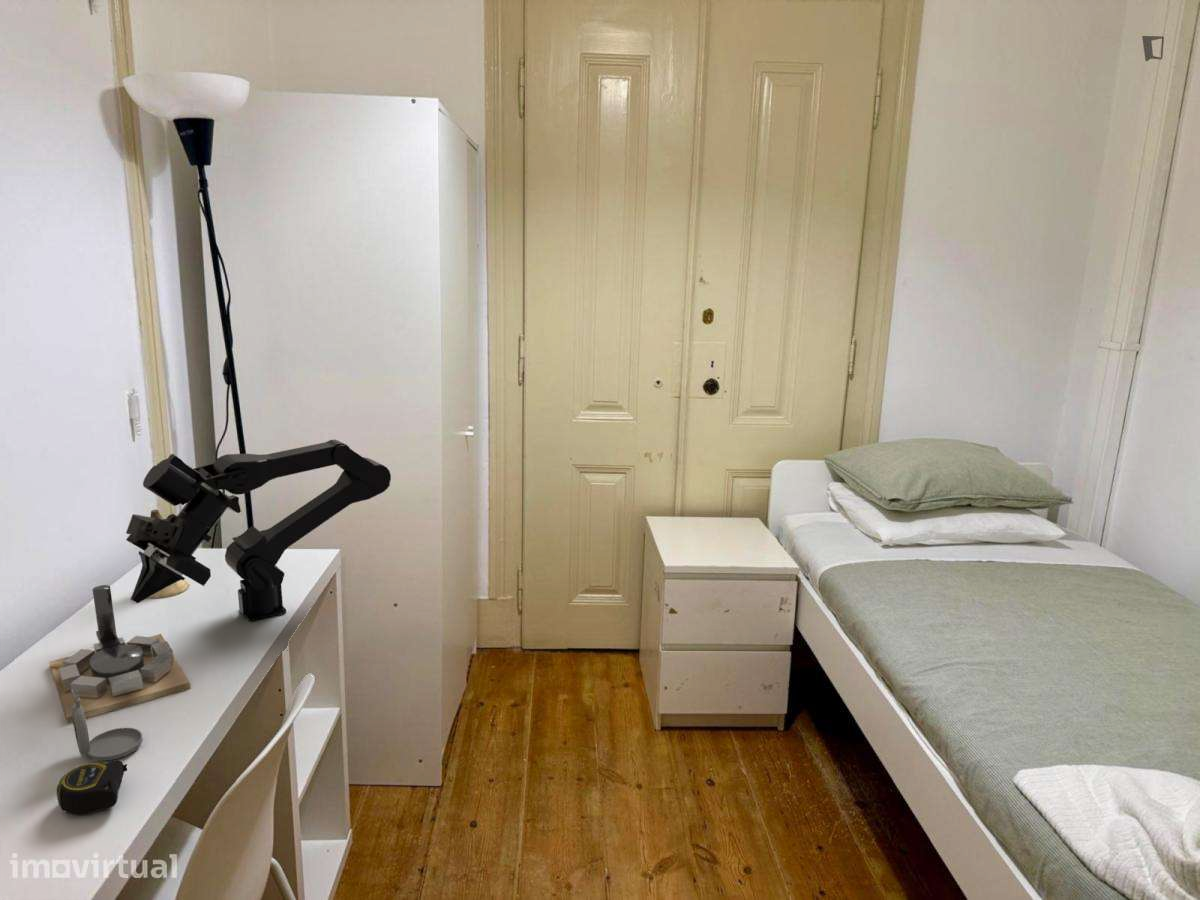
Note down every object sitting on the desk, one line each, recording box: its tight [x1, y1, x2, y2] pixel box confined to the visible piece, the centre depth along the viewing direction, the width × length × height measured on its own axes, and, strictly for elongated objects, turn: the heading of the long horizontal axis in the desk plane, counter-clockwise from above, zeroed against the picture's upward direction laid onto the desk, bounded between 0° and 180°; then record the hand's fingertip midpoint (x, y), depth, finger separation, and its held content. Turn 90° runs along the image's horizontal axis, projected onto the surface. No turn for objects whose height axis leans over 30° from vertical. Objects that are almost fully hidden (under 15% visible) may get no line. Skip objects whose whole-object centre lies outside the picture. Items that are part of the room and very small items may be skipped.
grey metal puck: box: [90, 644, 144, 685], centre depth 131 cm, size 7×7×3 cm
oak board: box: [49, 633, 191, 724], centre depth 132 cm, size 16×19×1 cm
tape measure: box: [56, 759, 128, 816], centre depth 104 cm, size 7×7×4 cm
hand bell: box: [147, 509, 190, 599], centre depth 160 cm, size 8×8×16 cm
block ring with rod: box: [59, 584, 174, 698], centre depth 131 cm, size 15×18×11 cm
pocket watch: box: [71, 689, 143, 762], centre depth 113 cm, size 8×8×10 cm
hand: (134, 601), depth 138 cm, fingers closed
